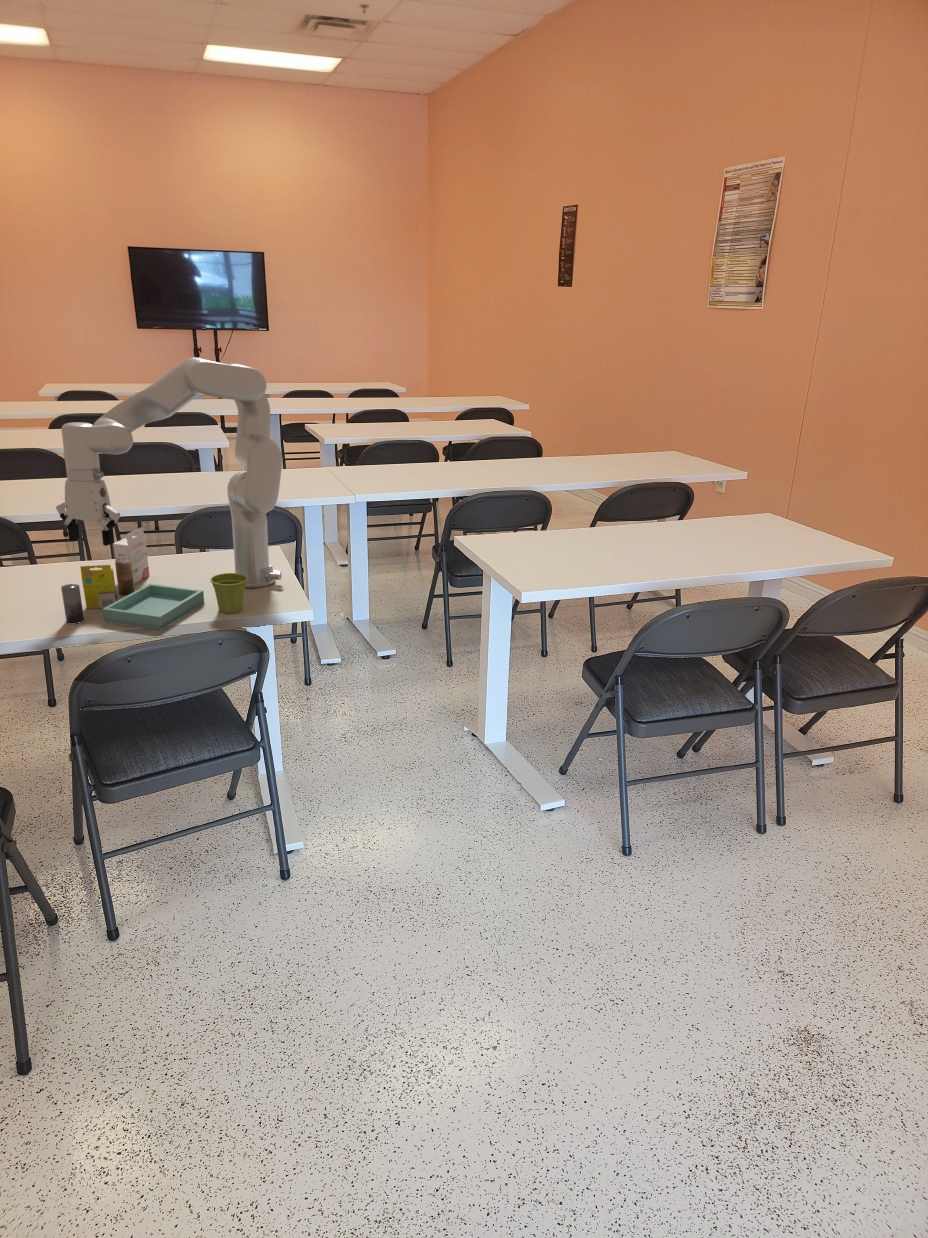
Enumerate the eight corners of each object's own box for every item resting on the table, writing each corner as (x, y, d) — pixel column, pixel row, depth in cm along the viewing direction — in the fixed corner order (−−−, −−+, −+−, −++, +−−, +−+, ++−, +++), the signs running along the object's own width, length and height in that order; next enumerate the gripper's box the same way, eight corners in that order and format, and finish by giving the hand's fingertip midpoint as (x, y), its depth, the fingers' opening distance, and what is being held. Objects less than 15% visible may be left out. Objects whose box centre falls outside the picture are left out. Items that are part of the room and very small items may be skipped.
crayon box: (118, 603, 210) (112, 561, 206) (116, 607, 207) (111, 565, 203) (87, 605, 208) (81, 562, 204) (86, 609, 205) (79, 566, 201)
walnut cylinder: (137, 591, 219) (134, 560, 215) (128, 596, 215) (125, 564, 212) (124, 590, 219) (121, 558, 216) (115, 594, 216) (111, 563, 212)
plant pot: (233, 600, 216) (231, 570, 212) (257, 609, 211) (255, 578, 208) (205, 610, 209) (202, 578, 205) (228, 619, 204) (226, 587, 200)
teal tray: (204, 602, 213) (203, 590, 212) (161, 630, 195) (160, 616, 194) (150, 595, 216) (149, 583, 215) (103, 622, 198) (102, 608, 197)
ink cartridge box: (134, 573, 232) (128, 524, 227) (150, 575, 231) (144, 526, 226) (117, 583, 224) (110, 532, 219) (133, 585, 223) (127, 534, 218)
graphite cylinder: (87, 618, 200) (82, 585, 196) (77, 624, 196) (71, 590, 193) (73, 616, 200) (68, 583, 197) (62, 622, 197) (57, 588, 193)
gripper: (124, 475, 197) (131, 542, 203) (63, 468, 200) (71, 534, 206) (105, 481, 190) (112, 550, 196) (42, 473, 193) (51, 541, 199)
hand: (91, 542), depth 201 cm, fingers open, 9 cm apart
